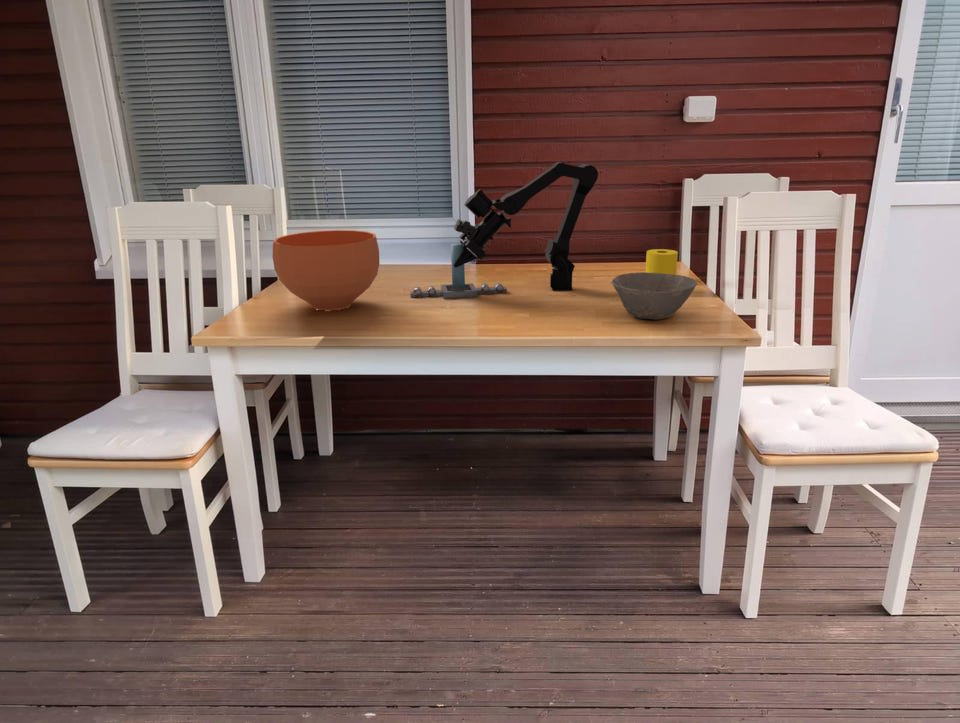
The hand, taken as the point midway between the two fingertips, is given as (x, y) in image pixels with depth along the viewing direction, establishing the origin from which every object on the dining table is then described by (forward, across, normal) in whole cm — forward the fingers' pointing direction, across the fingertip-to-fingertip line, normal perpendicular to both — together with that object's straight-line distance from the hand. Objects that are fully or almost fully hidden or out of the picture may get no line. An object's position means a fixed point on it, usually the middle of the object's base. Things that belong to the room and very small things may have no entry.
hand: (453, 265), depth 204 cm
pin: (+4, 0, +6) cm, 7 cm away
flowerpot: (+33, +7, -20) cm, 39 cm away
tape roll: (-43, -6, +57) cm, 71 cm away
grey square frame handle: (+6, 0, +7) cm, 9 cm away
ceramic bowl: (-29, +36, +43) cm, 63 cm away
